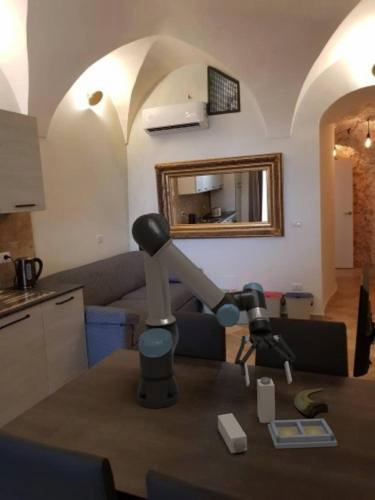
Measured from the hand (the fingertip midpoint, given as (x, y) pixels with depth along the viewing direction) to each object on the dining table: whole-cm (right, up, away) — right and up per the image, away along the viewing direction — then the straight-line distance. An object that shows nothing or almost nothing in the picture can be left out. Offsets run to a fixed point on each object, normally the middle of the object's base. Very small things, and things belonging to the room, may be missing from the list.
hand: (269, 383), depth 125 cm
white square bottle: (-2, -10, -3) cm, 10 cm away
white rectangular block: (-13, -12, -13) cm, 22 cm away
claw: (+15, -9, +5) cm, 18 cm away
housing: (+6, -11, -13) cm, 18 cm away
